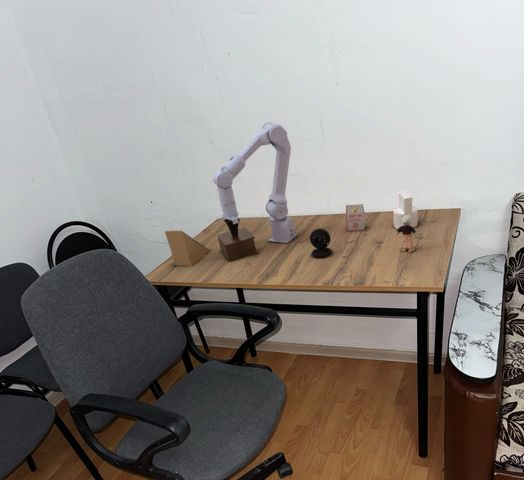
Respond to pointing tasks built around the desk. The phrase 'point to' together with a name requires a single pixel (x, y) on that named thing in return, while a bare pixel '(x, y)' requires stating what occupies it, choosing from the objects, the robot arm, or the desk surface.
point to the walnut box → (238, 249)
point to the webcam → (320, 243)
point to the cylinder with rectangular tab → (405, 210)
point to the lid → (230, 240)
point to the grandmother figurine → (407, 234)
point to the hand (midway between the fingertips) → (235, 236)
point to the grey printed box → (355, 217)
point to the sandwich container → (185, 248)
